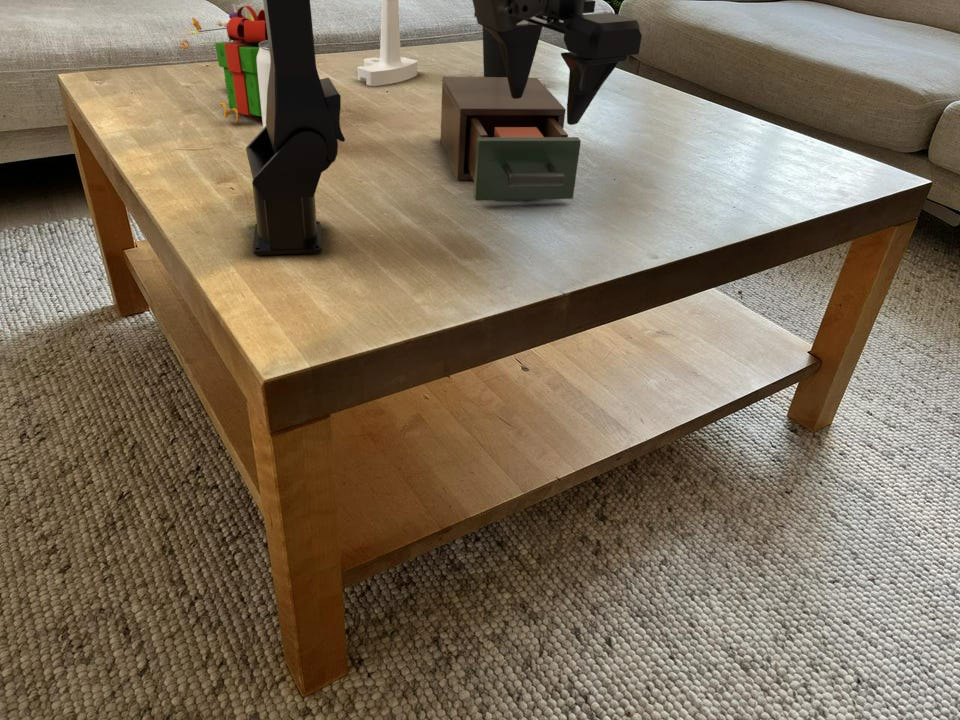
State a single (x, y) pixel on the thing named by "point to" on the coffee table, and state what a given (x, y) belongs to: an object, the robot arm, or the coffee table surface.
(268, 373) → the coffee table surface
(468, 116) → the drawer
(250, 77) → the gift wrap
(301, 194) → the robot arm
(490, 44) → the drinking cup
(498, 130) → the block
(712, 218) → the coffee table surface
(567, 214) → the coffee table surface
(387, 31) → the white post stand
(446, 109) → the cabinet
